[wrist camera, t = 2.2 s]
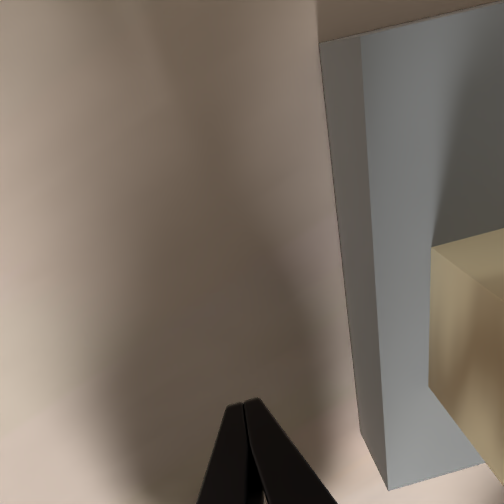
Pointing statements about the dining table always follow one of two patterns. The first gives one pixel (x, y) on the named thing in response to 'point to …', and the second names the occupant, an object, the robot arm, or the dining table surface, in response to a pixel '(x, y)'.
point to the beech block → (470, 339)
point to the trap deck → (411, 210)
